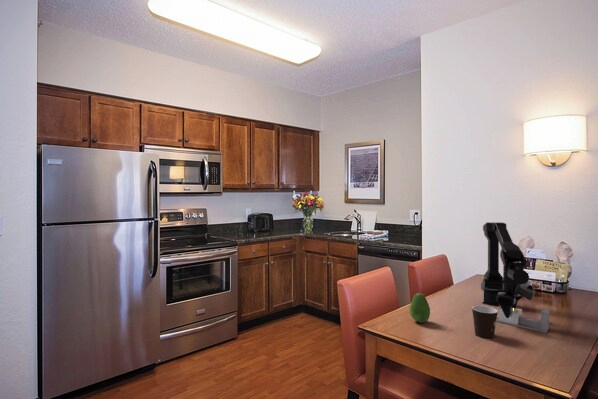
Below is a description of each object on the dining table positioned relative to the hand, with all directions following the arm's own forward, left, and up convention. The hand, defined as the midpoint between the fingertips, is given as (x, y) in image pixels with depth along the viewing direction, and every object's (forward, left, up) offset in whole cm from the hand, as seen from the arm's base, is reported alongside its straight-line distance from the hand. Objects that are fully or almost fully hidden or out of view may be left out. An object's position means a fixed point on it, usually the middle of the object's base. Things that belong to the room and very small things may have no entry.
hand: (510, 315), depth 146 cm
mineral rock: (-7, +53, -3) cm, 54 cm away
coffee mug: (-3, -21, -3) cm, 21 cm away
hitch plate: (+4, 0, -3) cm, 5 cm away
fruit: (-27, -27, -3) cm, 38 cm away
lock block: (0, 0, -2) cm, 2 cm away
